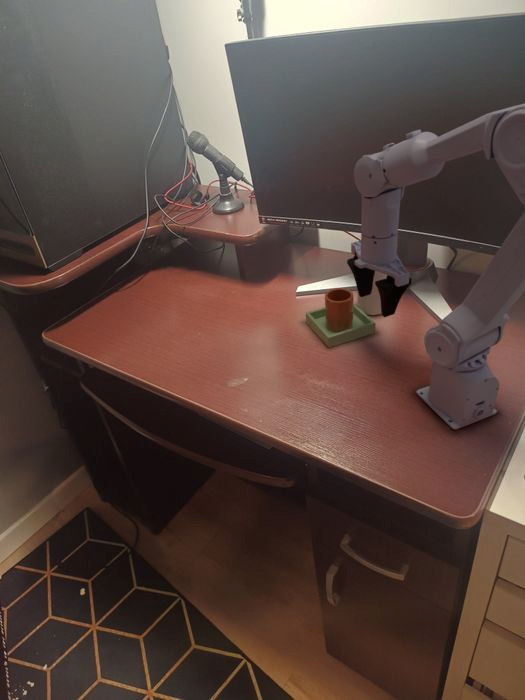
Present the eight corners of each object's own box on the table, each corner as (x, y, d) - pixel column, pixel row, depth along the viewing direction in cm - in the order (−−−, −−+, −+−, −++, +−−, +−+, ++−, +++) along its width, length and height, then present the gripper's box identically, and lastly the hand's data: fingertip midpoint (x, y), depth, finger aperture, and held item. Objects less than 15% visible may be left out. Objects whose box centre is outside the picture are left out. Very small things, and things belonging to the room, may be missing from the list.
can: (386, 299, 100) (389, 248, 93) (390, 315, 95) (393, 262, 88) (356, 300, 101) (356, 249, 94) (358, 316, 96) (359, 264, 89)
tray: (375, 332, 91) (375, 322, 89) (328, 348, 88) (328, 337, 87) (349, 309, 98) (349, 299, 97) (306, 322, 96) (305, 312, 95)
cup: (358, 328, 91) (358, 297, 87) (333, 335, 90) (333, 305, 86) (344, 315, 96) (344, 285, 92) (321, 322, 94) (320, 292, 90)
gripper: (335, 222, 78) (336, 292, 86) (382, 254, 67) (378, 331, 75) (371, 213, 80) (369, 282, 88) (424, 242, 68) (416, 319, 76)
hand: (376, 304), depth 81 cm, fingers open, 7 cm apart
